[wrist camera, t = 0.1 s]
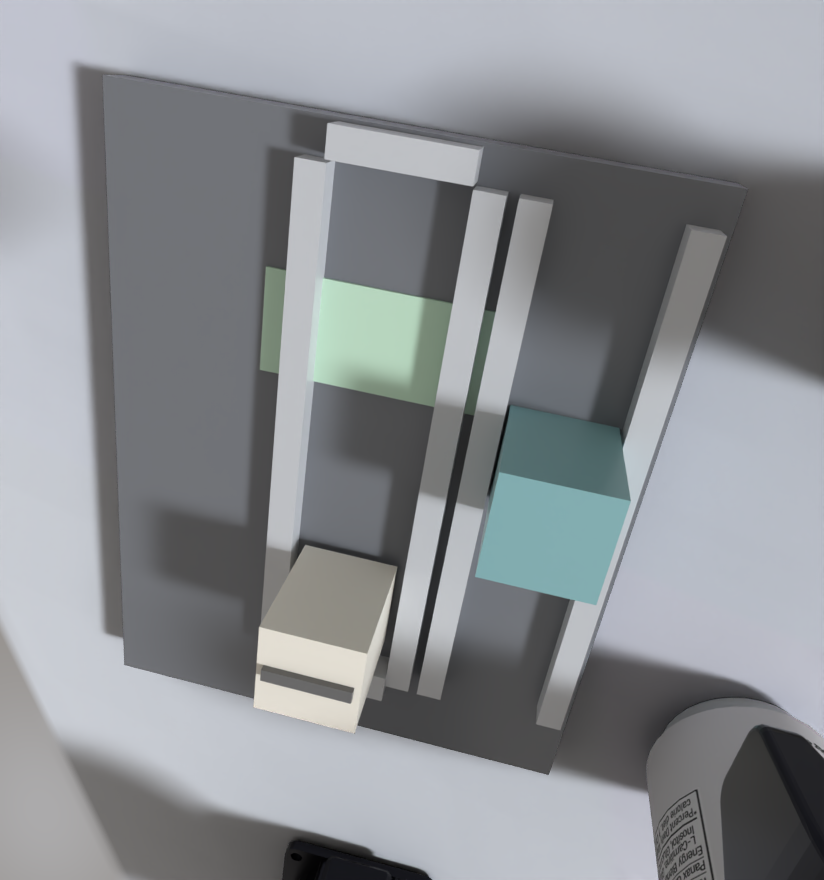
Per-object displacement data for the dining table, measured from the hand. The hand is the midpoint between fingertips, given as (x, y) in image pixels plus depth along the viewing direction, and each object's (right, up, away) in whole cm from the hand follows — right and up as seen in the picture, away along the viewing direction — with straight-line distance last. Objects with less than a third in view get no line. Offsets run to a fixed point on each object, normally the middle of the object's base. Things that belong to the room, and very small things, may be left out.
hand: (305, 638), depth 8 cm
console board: (0, +1, +16) cm, 16 cm away
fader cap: (-1, -3, +16) cm, 17 cm away
